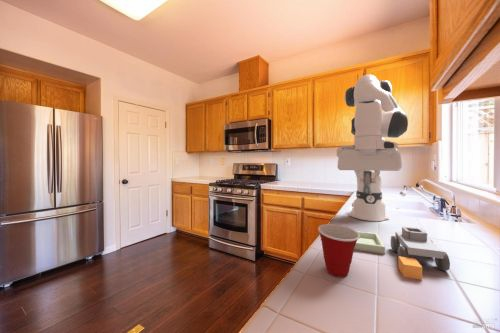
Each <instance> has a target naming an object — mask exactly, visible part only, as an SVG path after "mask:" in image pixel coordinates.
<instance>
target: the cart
mask: <svg viewBox="0 0 500 333" xmlns="http://www.w3.org/2000/svg"><path fill="white" fill-rule="evenodd" d="M394 234H395V235H391V236H390V248H391V251H392V252H397V258H398V257H399V256H400V257H407V258H410V255H411V256H419V257H425V258H426V257H429V258H432V259H433V258H434V263H435V266H436V268H437V269H438V270H441V271H447V272H448V271H449V270H450V268H451V265H450V264H451V262H450V258H449V255H448V254H447V252H446V251H443V249H441V248H440V247H439V246H438V245H437V244H435V243H434V241H433V240H432V239H429V237H428V232H426V231H425V230H424V229H422V228H418V227H410V226H409V227H408V226H402V227H401V231H395V232H394Z"/></svg>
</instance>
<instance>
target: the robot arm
mask: <svg viewBox="0 0 500 333" xmlns="http://www.w3.org/2000/svg"><path fill="white" fill-rule="evenodd" d="M392 94H393V87H392V84H391V82H390V81H389V80H385V79H384V80H383V79H382V80H380V81H379V79H378V78H377V76H375V75H373V74H364V75H362V76H360V77H359V78H358V80H357V81H356V82H355V85H354V86H350V87H349V88H347V89H346V90H345V92H344V95H343V96H344V97H343V99H344V102H345V104H346V106H348V107H349V108H351V107H352V108H353V107H355V111H354V117H353V118H352V119H351V130H350V134H352V135H353V137H354V138H353V139H354V140H353V145H352V144H351V145H341V146H340V147H337V149H336V156H337V157H338V159H337V169H338V171H353V172H354V173H355V177H356V186H357V188H356V193H355V195H356V196H355V197H356V198H355V199H354V200H353V202H352V203H351V207H352V208H351V211H350V213H349V214H348V216H349V217H351V218H352V217H353V218H355V219H359V220H363V221H370V222H382V221H388V220H389V221H390V217H389V216H388V215H386V214H387V213H386V212H387V211H386V203H385V202H384V201H383V192H382V178H381V176H380V174H381V171H382V172H383V171H385V172H387V171H388V172H390V171H391V172H397V171H400V170H401V169H402V166H403V165H402V156H401V153H400V151H399V150H398V148H399V144H398V143H397V142H394V141H390V140H386V139H385V138H392V139H393V138H394V139H395V138H396V139H398V138H399V137H401V136H402V135H404V134H405V133H406V132H407V131H408V127H409V120H408V116H407V114H406V112H404V111H403V110H402V109H401V107H400V105H399V104H398V102H397V101H396V99H395V98H394V96H393V95H392ZM363 171H372V172H371V193H370V194H368V193H363V183H364V181H363V180H364V178H363Z"/></svg>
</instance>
